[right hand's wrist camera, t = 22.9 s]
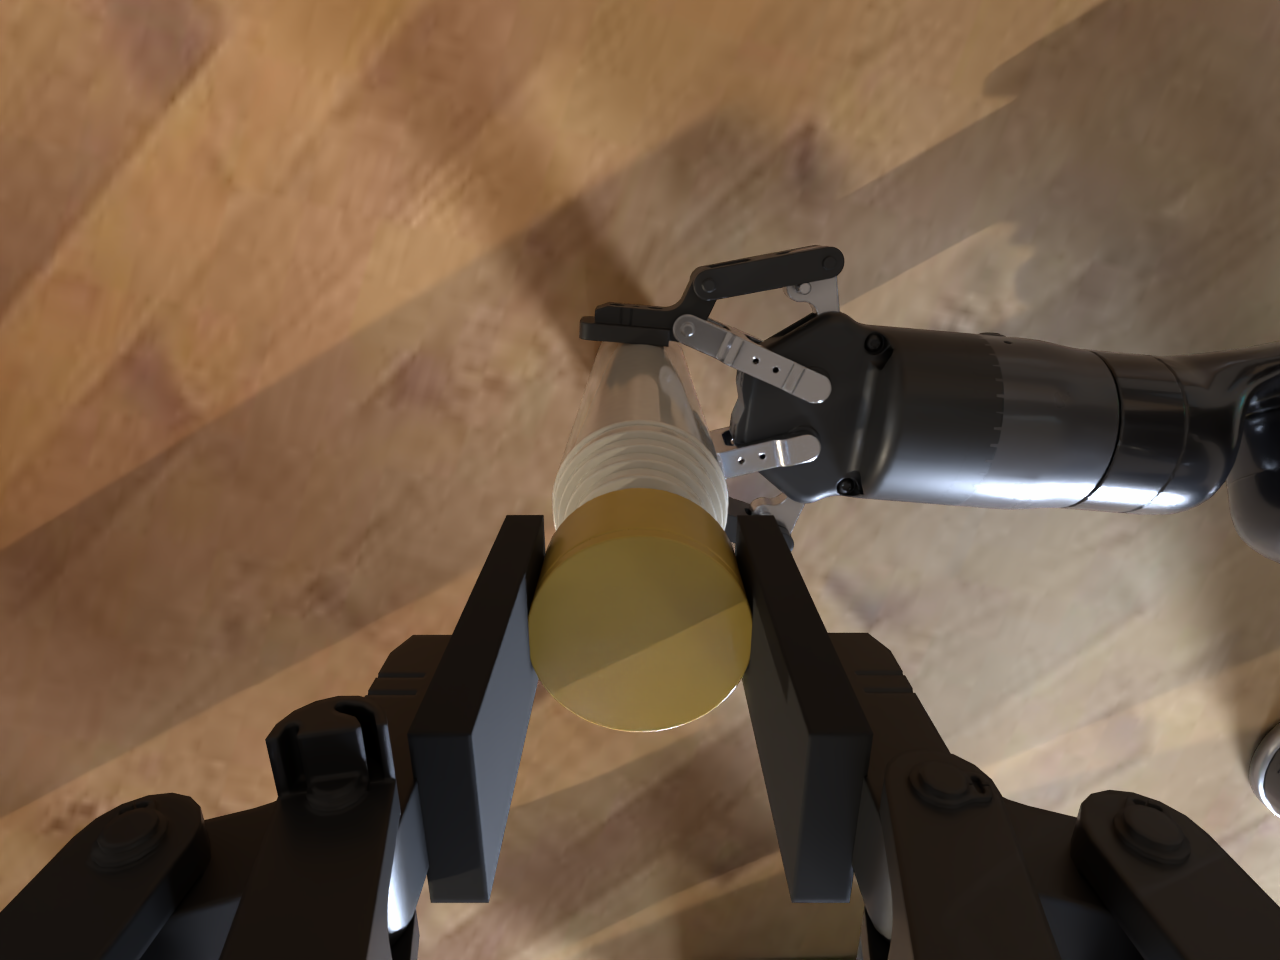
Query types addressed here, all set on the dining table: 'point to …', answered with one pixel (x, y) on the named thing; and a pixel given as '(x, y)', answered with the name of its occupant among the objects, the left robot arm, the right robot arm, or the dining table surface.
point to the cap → (640, 612)
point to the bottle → (640, 433)
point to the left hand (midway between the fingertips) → (579, 389)
